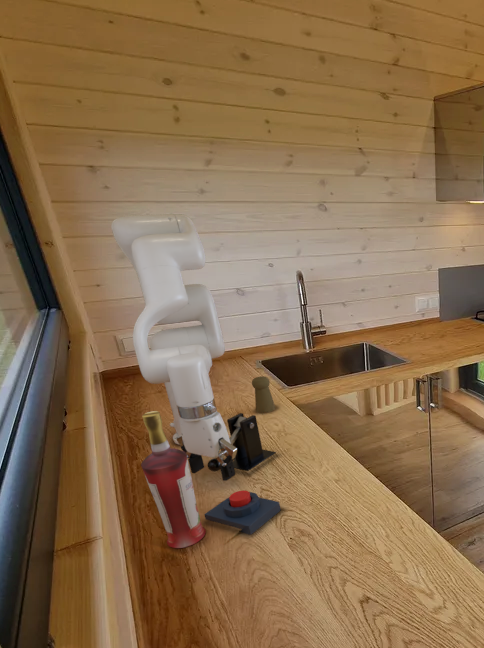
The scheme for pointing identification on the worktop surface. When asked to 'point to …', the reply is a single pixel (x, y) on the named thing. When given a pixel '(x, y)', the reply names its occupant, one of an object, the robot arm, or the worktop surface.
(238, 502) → the switch button
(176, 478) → the liquor
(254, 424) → the switch bracket
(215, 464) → the switch lever
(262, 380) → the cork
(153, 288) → the robot arm
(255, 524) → the switch box
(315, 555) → the worktop surface
